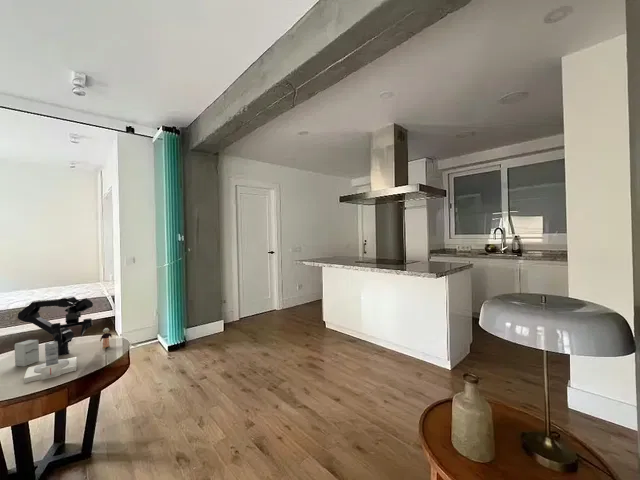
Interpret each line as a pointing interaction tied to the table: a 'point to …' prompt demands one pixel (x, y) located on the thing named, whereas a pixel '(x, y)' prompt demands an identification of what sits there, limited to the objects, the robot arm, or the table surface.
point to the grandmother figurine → (106, 338)
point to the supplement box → (26, 352)
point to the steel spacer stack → (51, 353)
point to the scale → (50, 370)
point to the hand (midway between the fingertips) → (71, 337)
